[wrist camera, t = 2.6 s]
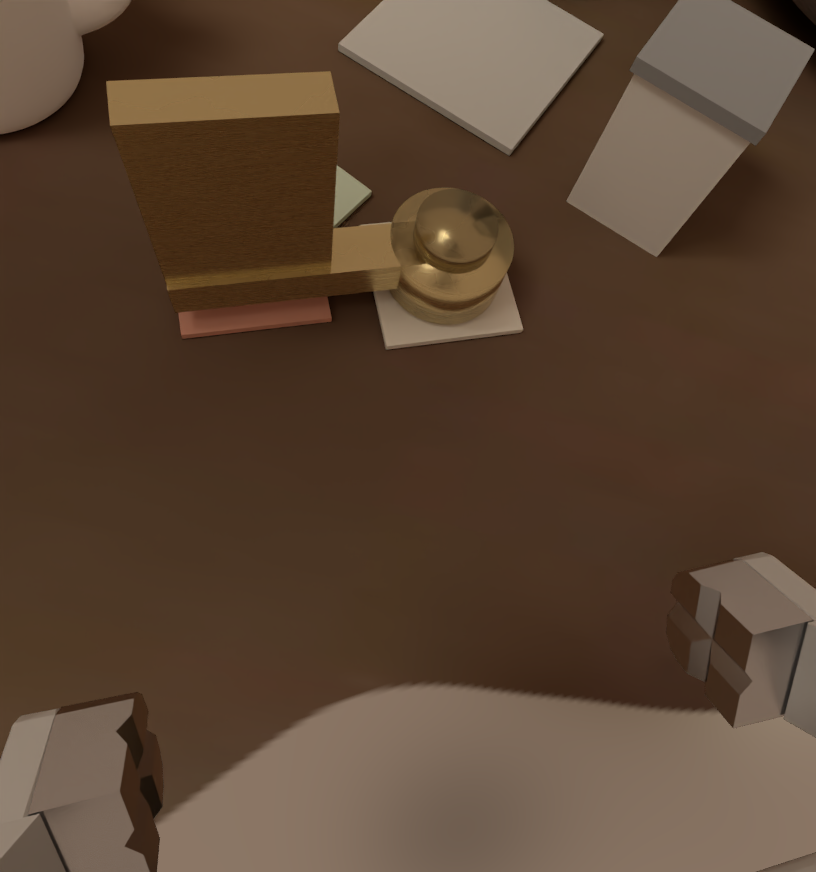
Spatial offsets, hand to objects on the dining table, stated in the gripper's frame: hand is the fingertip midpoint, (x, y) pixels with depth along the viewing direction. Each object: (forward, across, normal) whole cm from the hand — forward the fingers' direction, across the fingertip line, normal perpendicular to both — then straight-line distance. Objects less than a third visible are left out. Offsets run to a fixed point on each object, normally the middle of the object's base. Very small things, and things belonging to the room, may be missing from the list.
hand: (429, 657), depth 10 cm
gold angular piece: (+21, -2, -1) cm, 21 cm away
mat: (+30, -12, -10) cm, 34 cm away
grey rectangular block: (+24, -17, -3) cm, 29 cm away
